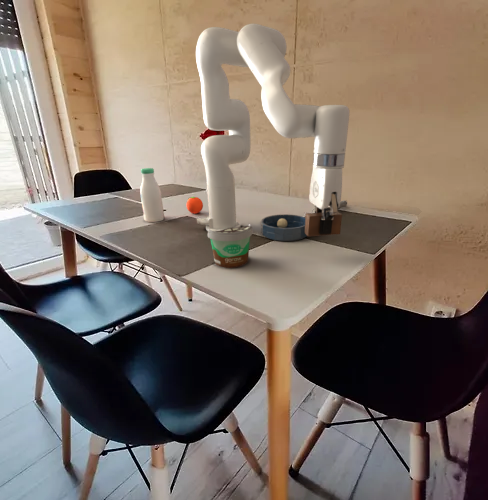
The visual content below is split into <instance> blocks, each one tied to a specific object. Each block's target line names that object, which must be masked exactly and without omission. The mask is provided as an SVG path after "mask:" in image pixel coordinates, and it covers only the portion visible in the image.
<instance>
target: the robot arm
mask: <svg viewBox="0 0 488 500" xmlns="http://www.w3.org/2000/svg"><path fill="white" fill-rule="evenodd" d="M286 41H287V40H286V38H285V35H283V33H282V32H281V31H280V30H278V29H276V28H273V27H270V26H265V25H262V24H259V23H248V24H245V25H243V26H242V28H241V29H240V30H239V31H237V30H233V29H229V28H225V27H220V26H211V27H210V26H209V27H207V28H205V29H204V30H203V31H202V32H200V35H199V36H198V39H197V42H196V47H195V60H196V66H197V70H198V74H199V78H200V88H201V91H200V92H201V102H202V103H201V105H202V116H203V122H204V125H205V127H206V128H207V129H208V130H210V131H215V132H217V131H219V132H221V131H228V134H217V135H216V134H215V135H210V136H208V137H207V138H205V139H204V140H203V141H202V143H201V145H200V154H201V158H202V162H203V165H204V166H203V167H204V171H205V179H206V191H207V192H206V193H207V204H208V214H207V217H205V218H196V224H197V225H200V226H205V230H206V232H208V231H209V229H210V230H212V231H220V230H224V229H227V228H241V227H242V225H241V223H240V222H239V221H237V206H236V205H237V204H236V184H235V183H236V182H235V176H234V173H233V171H232V169H231V167H230V165H235V164H241V163H244V162H247V160H248V159H249V157H250V153H251V116H250V111H249V108H248V106H247V105H246V103H245V102H244V101H243V100H240V99H237V98H231V96H230V83H229V79H228V77H227V74H226V72H225V70H224V68H223V67H222V65H229V66H234V67H235V66H236V67H242V68H249V70H250V71H251V73H252V74H253V76H254V78H255V79H256V81H257V82H258V83H259V85H260V87H261V92H260V97H261V99H260V100H261V107H262V109H263V112H264V114H265V117H266V118H267V119H268V121H269V123H270V124H271V125H272V127H273V128H274V130H275V131H276V132H277V133H278V134H279V135H280V136H282V137H283V138H285V139H300V138H302V139H305V138H314V139H313V153H312V154H313V155H312V171H311V176H310V184H309V194H308V201H309V202H310V203H311V204H312V205H313V206H314V213H322V219H320V227H319V234H320V235H322V236H324V235H323V234H331V230H332V220H333V218H334V215H337V212H338V210H337V208H339V206H340V202H341V201H342V192H343V168H344V167H345V160H346V151H347V142H348V131H349V122H350V108H349V106H347V105H344V104H324V105H321V106H320V105H313V104H300V103H299V104H298V103H296V104H295V103H294V102H293V101H292V99H291V98H290V97H289V96H288V94H287V92H286V90H285V89H284V85H285V84H286V82H287V81H288V80H289V77H290V75H291V66H290V64H289V62H288V61H287V59H286V58H285V56H286V54H287V42H286ZM328 211H329V212H328ZM326 212H327V213H326Z"/></svg>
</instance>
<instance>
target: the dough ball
mask: <svg viewBox="0 0 488 500" xmlns="http://www.w3.org/2000/svg"><path fill="white" fill-rule="evenodd" d="M277 226H278V227H279V228H286V227H287V221H286V220H285V219H279V220H278V222H277Z"/></svg>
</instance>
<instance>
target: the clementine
mask: <svg viewBox="0 0 488 500" xmlns="http://www.w3.org/2000/svg"><path fill="white" fill-rule="evenodd" d="M203 208H204V203H203V201H202V199H201V198H199V197H197V196H190V197H188V199H187V201H186V209H187V211H188V212H189V213H191V214H199V213H200V212H201V211H202V210H203Z"/></svg>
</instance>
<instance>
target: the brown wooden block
mask: <svg viewBox="0 0 488 500" xmlns="http://www.w3.org/2000/svg"><path fill="white" fill-rule="evenodd" d="M327 212H328V211H326V213H327ZM305 218H306V219H305V234H306V235H307V237H320V236H322V237H323V236H332V235H341V230H342V229H341V228H342V220H343V214H342V213H341V212H339V211H337V215H334V218H333V220H332V230H331V234H323V235H320V234H319V227H320V219H322V213H315V212H306V213H305Z"/></svg>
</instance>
